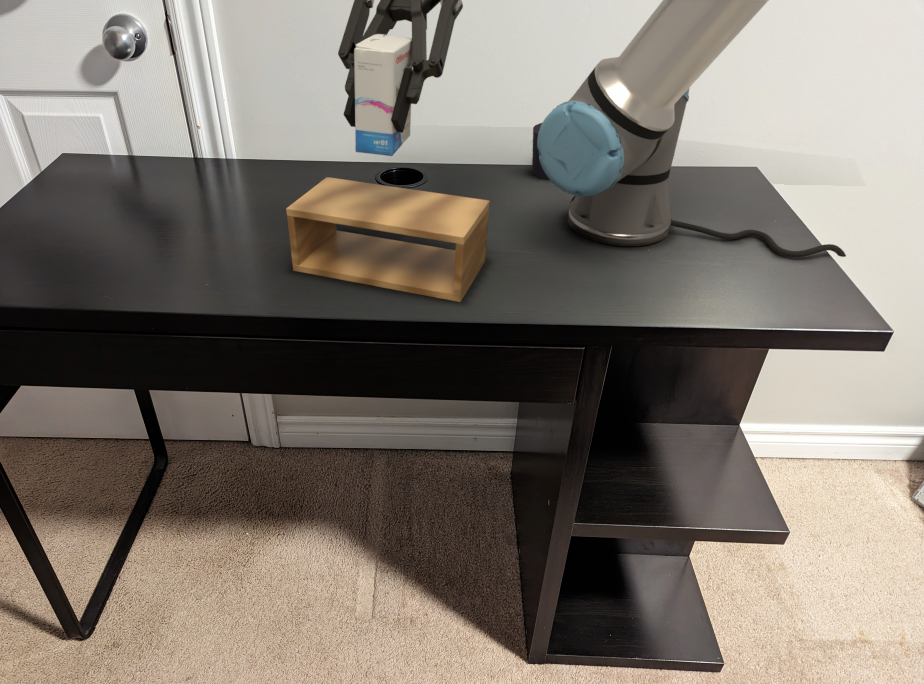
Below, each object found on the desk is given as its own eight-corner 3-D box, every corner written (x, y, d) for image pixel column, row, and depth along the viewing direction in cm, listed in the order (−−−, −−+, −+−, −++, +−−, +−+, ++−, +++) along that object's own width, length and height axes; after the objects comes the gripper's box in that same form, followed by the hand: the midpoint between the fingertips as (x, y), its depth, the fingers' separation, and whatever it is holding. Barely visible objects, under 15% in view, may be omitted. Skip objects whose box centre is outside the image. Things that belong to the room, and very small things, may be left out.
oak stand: (485, 261, 96) (490, 200, 90) (460, 302, 87) (463, 237, 81) (331, 235, 102) (326, 176, 97) (293, 270, 93) (285, 208, 88)
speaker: (556, 163, 127) (561, 106, 120) (576, 174, 123) (583, 117, 116) (523, 174, 125) (526, 117, 118) (543, 185, 121) (547, 128, 114)
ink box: (394, 157, 81) (394, 49, 74) (354, 153, 82) (350, 46, 75) (412, 136, 88) (414, 34, 81) (375, 132, 89) (374, 31, 82)
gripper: (499, -28, 84) (453, 148, 81) (362, -34, 89) (315, 131, 86) (490, -77, 76) (440, 114, 74) (342, -81, 81) (291, 98, 79)
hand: (373, 123), depth 80 cm, fingers closed on ink box, 5 cm apart
